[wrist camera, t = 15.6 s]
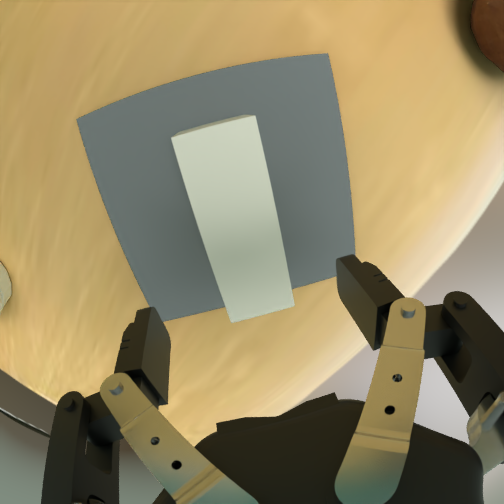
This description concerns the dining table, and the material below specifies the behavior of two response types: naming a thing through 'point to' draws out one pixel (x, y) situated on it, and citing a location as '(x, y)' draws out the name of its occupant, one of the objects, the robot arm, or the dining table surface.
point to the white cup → (4, 287)
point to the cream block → (236, 214)
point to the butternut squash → (489, 29)
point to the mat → (173, 187)
